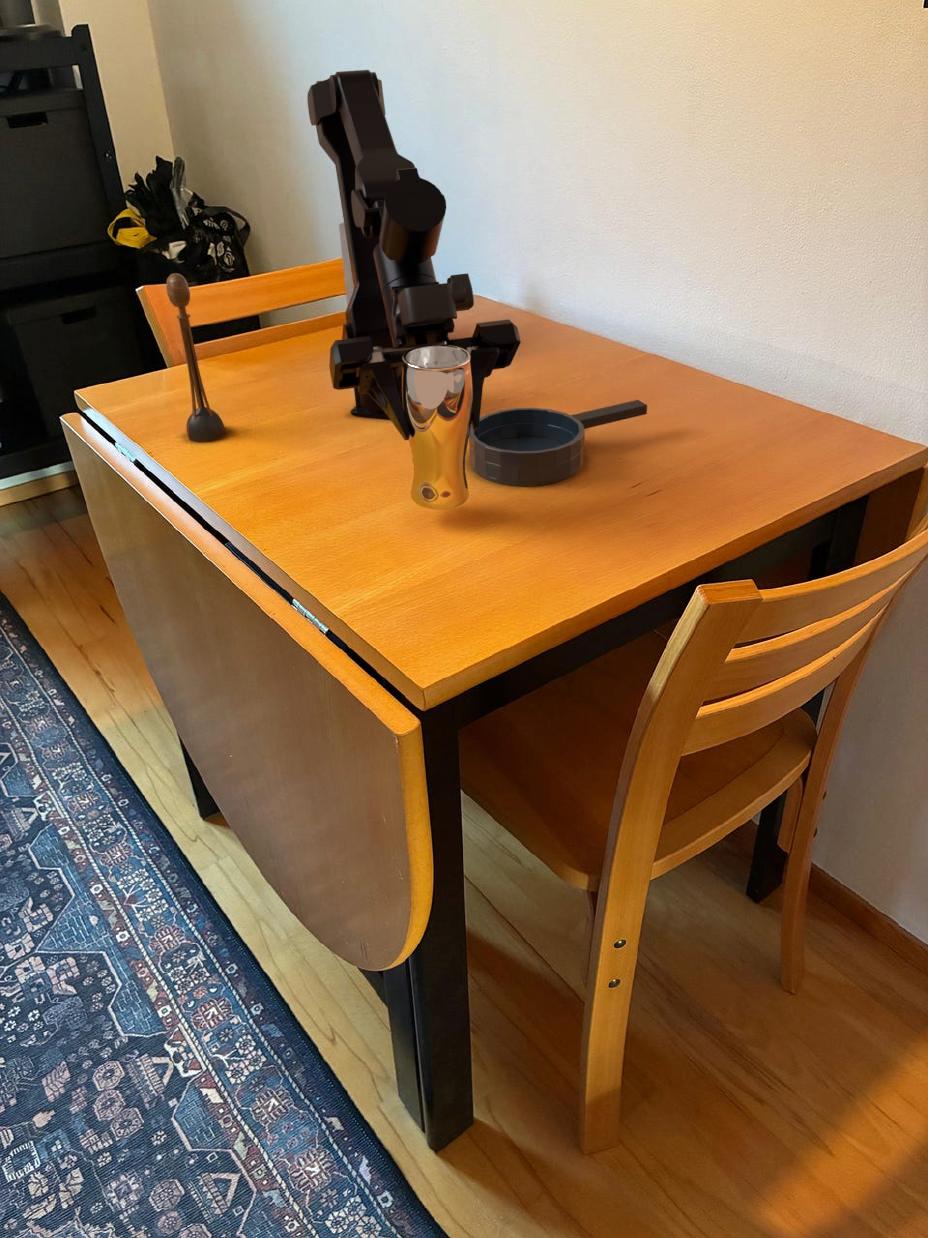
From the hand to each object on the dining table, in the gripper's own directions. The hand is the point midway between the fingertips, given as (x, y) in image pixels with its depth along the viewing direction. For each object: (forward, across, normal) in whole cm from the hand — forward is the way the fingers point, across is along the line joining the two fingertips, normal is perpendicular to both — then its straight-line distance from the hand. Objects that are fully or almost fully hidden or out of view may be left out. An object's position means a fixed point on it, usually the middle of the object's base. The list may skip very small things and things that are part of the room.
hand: (441, 433), depth 96 cm
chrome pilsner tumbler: (+4, 0, +6) cm, 8 cm away
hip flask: (-32, +4, +48) cm, 58 cm away
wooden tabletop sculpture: (-16, -23, +32) cm, 42 cm away
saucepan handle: (-5, +24, +15) cm, 28 cm away
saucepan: (-1, +13, +16) cm, 20 cm away
